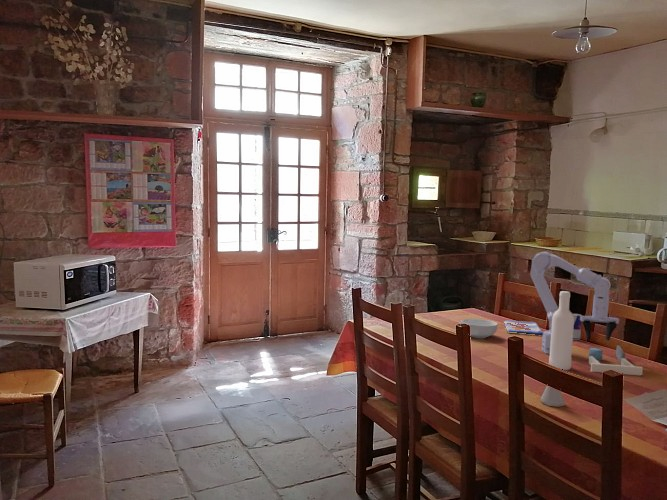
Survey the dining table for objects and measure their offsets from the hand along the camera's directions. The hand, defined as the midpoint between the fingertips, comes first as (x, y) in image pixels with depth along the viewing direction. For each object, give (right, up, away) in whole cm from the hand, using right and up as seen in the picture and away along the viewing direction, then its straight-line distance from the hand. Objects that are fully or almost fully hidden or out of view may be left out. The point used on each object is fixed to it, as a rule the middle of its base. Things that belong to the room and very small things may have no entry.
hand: (597, 339), depth 221 cm
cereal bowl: (-41, -4, +33) cm, 52 cm away
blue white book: (-14, -4, +49) cm, 51 cm away
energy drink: (+5, -6, +32) cm, 33 cm away
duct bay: (-1, -10, -11) cm, 15 cm away
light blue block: (-1, -8, +1) cm, 9 cm away
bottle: (-21, -9, -12) cm, 26 cm away
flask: (-40, -12, -50) cm, 65 cm away
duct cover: (+9, -9, -1) cm, 12 cm away
